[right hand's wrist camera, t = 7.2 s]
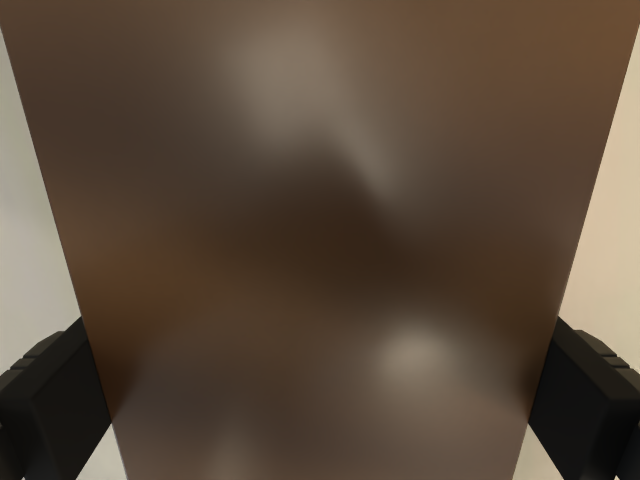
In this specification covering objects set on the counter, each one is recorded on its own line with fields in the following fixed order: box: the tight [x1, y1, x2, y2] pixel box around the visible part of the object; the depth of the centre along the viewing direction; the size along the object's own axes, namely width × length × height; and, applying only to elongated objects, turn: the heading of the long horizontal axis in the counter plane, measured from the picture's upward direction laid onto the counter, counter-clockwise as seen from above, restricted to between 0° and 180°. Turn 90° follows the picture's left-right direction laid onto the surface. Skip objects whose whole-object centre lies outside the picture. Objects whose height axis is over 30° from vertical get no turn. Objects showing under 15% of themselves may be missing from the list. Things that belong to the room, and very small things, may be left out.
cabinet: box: [0, 0, 640, 480], centre depth 12 cm, size 21×11×10 cm, turn 0°
